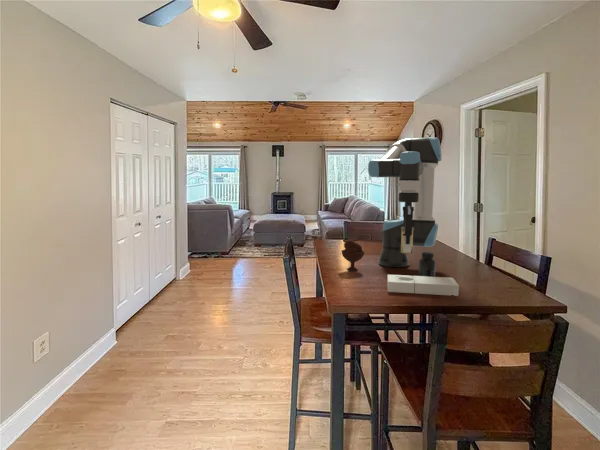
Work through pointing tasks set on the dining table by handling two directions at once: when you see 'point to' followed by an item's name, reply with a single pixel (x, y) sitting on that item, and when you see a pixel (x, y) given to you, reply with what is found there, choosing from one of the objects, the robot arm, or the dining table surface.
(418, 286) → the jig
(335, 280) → the dining table surface
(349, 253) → the ice cream bowl
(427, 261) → the supplement bottle
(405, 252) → the gold grey cylinder
